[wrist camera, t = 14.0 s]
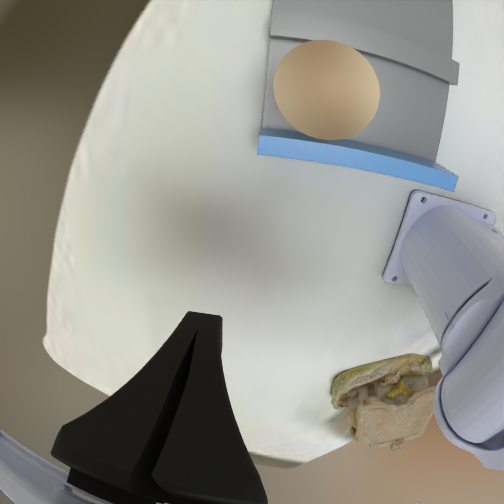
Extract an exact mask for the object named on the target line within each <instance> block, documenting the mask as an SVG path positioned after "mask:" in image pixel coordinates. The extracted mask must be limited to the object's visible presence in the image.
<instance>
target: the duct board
mask: <svg viewBox="0 0 504 504" xmlns="http://www.w3.org/2000/svg"><path fill="white" fill-rule="evenodd" d="M313 40H331V41H337V42H340V43H343V44H345V45H348V46H350V47H351V48H353V49H355V50H356V51H358V52H359V53H360V54H361V55H362V56H363V57H364V58H366V60H367V61H368V62H369V63H370V65H371V66H372V68H373V69H374V71H375V74H376V76H377V79H378V82H379V88H380V100H379V105H378V109H377V111H376V114H375V115H374V117H373V119H372V120H371V122H370V123H369V124H368V125H367V126H366V127H365V128H364V129H363V130H361V131H360V132H358V133H357V134H355V135H353V136H350V137H348V138H344V139H339V140H323V139H317V138H314V137H311V136H308V135H306V134H304V133H302V132H300V131H299V130H297V129H296V128H294V127H293V126H292V125H291V124H290V123H289V122H288V121H287V120H286V119H285V118H284V116H283V115H282V113H281V112H280V110H279V108H278V106H277V103H276V100H275V96H274V90H273V82H274V76H275V72H276V69H277V67H278V65H279V63H280V61H281V60H282V59H283V57H284V56H285V55H286V54H287V53H288V52H289V51H291V50H292V49H293V48H295V47H297V46H298V45H300V44H303V43H305V42H309V41H313ZM452 44H453V4H452V0H274V1H273V10H272V15H271V26H270V44H269V55H268V66H267V77H266V88H265V99H264V110H263V121H262V129H261V131H260V134H259V140H258V151H257V155H265V156H274V157H283V158H291V159H299V160H306V161H313V162H320V163H326V164H333V165H339V166H344V167H350V168H355V169H361V170H366V171H371V172H376V173H381V174H385V175H390V176H394V177H399V178H403V179H407V180H411V181H415V182H419V183H423V184H427V185H431V186H434V187H438V188H442V189H445V190H449V191H452V192H454V189H455V186H456V182H457V179H458V176H457V175H455V174H454V173H452V172H451V171H449V170H447V169H446V168H444V167H443V166H441V165H440V164H438V163H436V162H435V160H436V156H437V152H438V147H439V143H440V138H441V133H442V128H443V123H444V117H445V111H446V105H447V98H448V91H449V85H457V84H458V75H459V63H458V62H456V61H454V60H452Z"/></svg>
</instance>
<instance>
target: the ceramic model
mask: <svg viewBox="0 0 504 504" xmlns="http://www.w3.org/2000/svg"><path fill="white" fill-rule="evenodd" d="M432 370H433V368H432V363H431V360H429V359H428V358H427V357H426V356H423V355H418V354H407V355H403V356H399V357H395V358H390V359H386V360H382V361H377V362H374V363H370V364H366V365H362V366H359V367H355V368H352V369H350V370H347V371H345V372H343V373H341V374H339V375H338V376H337V377H336V378H335V380H334V382H333V385H332V389H331V390H332V401H331V403H332V404H333V407H334V409H342V408H343V407H348V414H347V415H346V419H347V421H348V423H349V424H350V425H352V427H351V429H350V432H351V435H352V437H353V438H354V439H355V440H356V441H357V442H360V443H363V444H365V445H366V446H369V448H380V447H385V446H388V445H391V450H393V451H394V450H395V449H398V448H400V449H401V448H402V447H403V445H404V441H409V440H413V439H416V438H418V437H420V436H421V434H423V433H424V430H425V428H426V426H427V424H428V422H429V420H430V418H431V417H432V415H433V414H434V406H433V400H434V393H435V389H436V387H435V386H431V387H429V384H428V378H427V377H428V374H430V373H431V371H432Z"/></svg>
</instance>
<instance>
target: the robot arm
mask: <svg viewBox="0 0 504 504" xmlns="http://www.w3.org/2000/svg"><path fill="white" fill-rule="evenodd" d="M422 197H424V200H423V201H421V198H422ZM484 215H485V216H484ZM495 219H496V215H495V213H493V212H492V211H489V210H486V209H483V208H480V207H476V206H473V205H470V204H466V203H463V202H460V201H456V200H452V199H449V198H445V197H441V196H438V195H434V194H430V193H426V192H422V191H414V192H413V193H412V194H411V196H410V200H409V203H408V206H407V210H406V213H405V216H404V219H403V222H402V225H401V228H400V231H399V234H398V237H397V240H396V243H395V246H394V248H393V251H392V254H391V257H390V259H389V262H388V264H387V267H386V270H385V272H384V275H383V279H384V281H385V282H386V283H393V284H405V285H412V287H413V289H414V291H415V293H416V295H417V297H418V299H419V301H420V303H421V305H422V307H423V309H424V312H425V314H426V316H427V318H428V320H429V322H430V324H431V327H432V329H433V331H434V333H435V336H436V338H437V340H438V343H439V345H440V347H441V350H442V357H441V359H440V360H439V362H438V364H439V366H440V369H441V372H442V375H443V377H442V378H441V379H440V381H439V383H438V384H437V387H436V389H435V393H434V400H433V406H434V413H435V417H436V420H437V423H438V426H439V427H440V429H441V431H442V433H443V434H444V435H445V437H446V438H447V439H448V440H449V441H450V442H452V443H453V444H455V445H456V446H458V447H460V448H462V449H465V450H467V451H469V452H471V453H473V454H474V455H475V456H476V457H477V458H478V459H479V461H480V462H481V463H482V465H483V466H484V467H485V468H489V469H497V470H504V236H503V235H502V234H501V233H500V232H499V231H498V230H497V229H496V228H495V227H494V226H493V224H494V222H495ZM395 276H396V277H395ZM393 277H395V278H393ZM392 278H393V279H392ZM221 352H222V317H221V316H220V315H212V314H205V313H198V312H191V311H189V312H187V313H186V315H185V316H184V318H183V319H182V321H181V322H180V323H179V325H178V326H177V328H176V329H175V330H174V332H173V333H172V334H171V336H170V337H169V338H168V339H167V341H166V342H165V343H164V344H163V345H162V347H161V348H160V349H159V350H158V352H157V353H156V354H155V355H154V356H153V357H152V358H151V359H150V360H149V361H148V363H147V364H146V365H145V366H144V367H143V368H142V369H141V370H140V371H139V372H138V373H137V374H136V375H135V376H134V377H133V378H132V379H130V380H129V381H128V382H127V383H126V384H125V385H124V386H122V387H121V388H120V389H119V390H118V391H116V392H115V393H114V394H113V395H111V396H110V397H109V398H107V399H106V400H105V401H103V402H102V403H100V404H99V405H97V406H96V407H94V408H93V409H91V410H90V411H88V412H87V413H85V414H84V415H82V416H80V417H78V418H77V419H75V420H73V421H71V422H69V423H67V424H65V425H63V426H62V428H61V430H60V431H59V433H58V435H57V437H56V440H55V442H54V445H53V448H52V450H51V455H52V456H53V457H54V458H56V459H57V460H59V461H61V462H63V463H64V464H66V465H67V466H69V467H71V469H70V472H69V473H68V472H66V471H64V470H62V469H60V468H59V467H57V466H55V465H53V464H51V463H50V462H48V461H46V460H45V459H43V458H41V457H40V456H38V455H36V454H35V453H33V452H32V451H30V450H28V449H27V448H25V447H24V446H22V445H21V444H19V443H18V442H17V441H16V440H14V439H13V438H11V437H10V436H9V435H7V434H6V433H5V432H3V431H2V430H1V429H0V489H1V490H2V491H3V492H4V493H5V494H6V495H7V496H8V497H9V498H10V499H11V500H12V501H13V502H14V503H15V504H97V503H95V502H93V501H90V500H88V499H86V498H83V497H81V496H79V495H76V494H74V493H73V492H72V489H74V490H76V491H78V492H80V493H82V494H84V495H87V496H89V497H91V498H93V499H95V500H98V501H100V502H102V503H105V504H156V502H158V503H162V504H164V502H165V503H169V504H268V501H267V496H266V493H265V490H264V487H263V484H262V481H261V479H260V476H259V473H258V471H257V470H256V467H255V466H254V463H253V461H252V459H251V457H250V455H249V453H248V451H247V448H246V446H245V444H244V441H243V439H242V436H241V433H240V431H239V428H238V425H237V423H236V420H235V417H234V414H233V410H232V407H231V404H230V400H229V396H228V392H227V388H226V383H225V378H224V373H223V367H222V359H221ZM71 488H72V489H71ZM415 504H421V503H420V502H419V503H415Z"/></svg>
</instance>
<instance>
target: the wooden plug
mask: <svg viewBox="0 0 504 504" xmlns="http://www.w3.org/2000/svg"><path fill="white" fill-rule="evenodd" d="M273 90H274V96H275V100H276V103H277V106H278V108H279V110H280V112H281V113H282V115H283V116H284V118H285V119H286V120H287V121H288V122H289V123H290V124H291V125H292V126H293V127H294V128H296V129H297V130H299V131H300V132H302V133H304V134H306V135H308V136H311V137H314V138H317V139H323V140H339V139H344V138H348V137H350V136H353V135H355V134H357V133H358V132H360V131H361V130H363V129H364V128H365V127H366V126H367V125H368V124H369V123H370V122H371V120H372V119H373V117H374V115H375V114H376V111H377V109H378V105H379V100H380V88H379V82H378V79H377V76H376V74H375V71H374V69H373V68H372V66H371V65H370V63H369V62H368V61H367V60H366V58H364V57H363V56H362V55H361V54H360V53H359V52H358V51H356V50H355V49H353V48H351V47H350V46H348V45H345V44H343V43H340V42H337V41H331V40H313V41H309V42H305V43H303V44H300V45H298V46H297V47H295V48H293V49H292V50H291V51H289V52H288V53H287V54H286V55H285V56H284V57H283V59H282V60H281V61H280V63H279V65H278V67H277V69H276V72H275V76H274V82H273Z"/></svg>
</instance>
